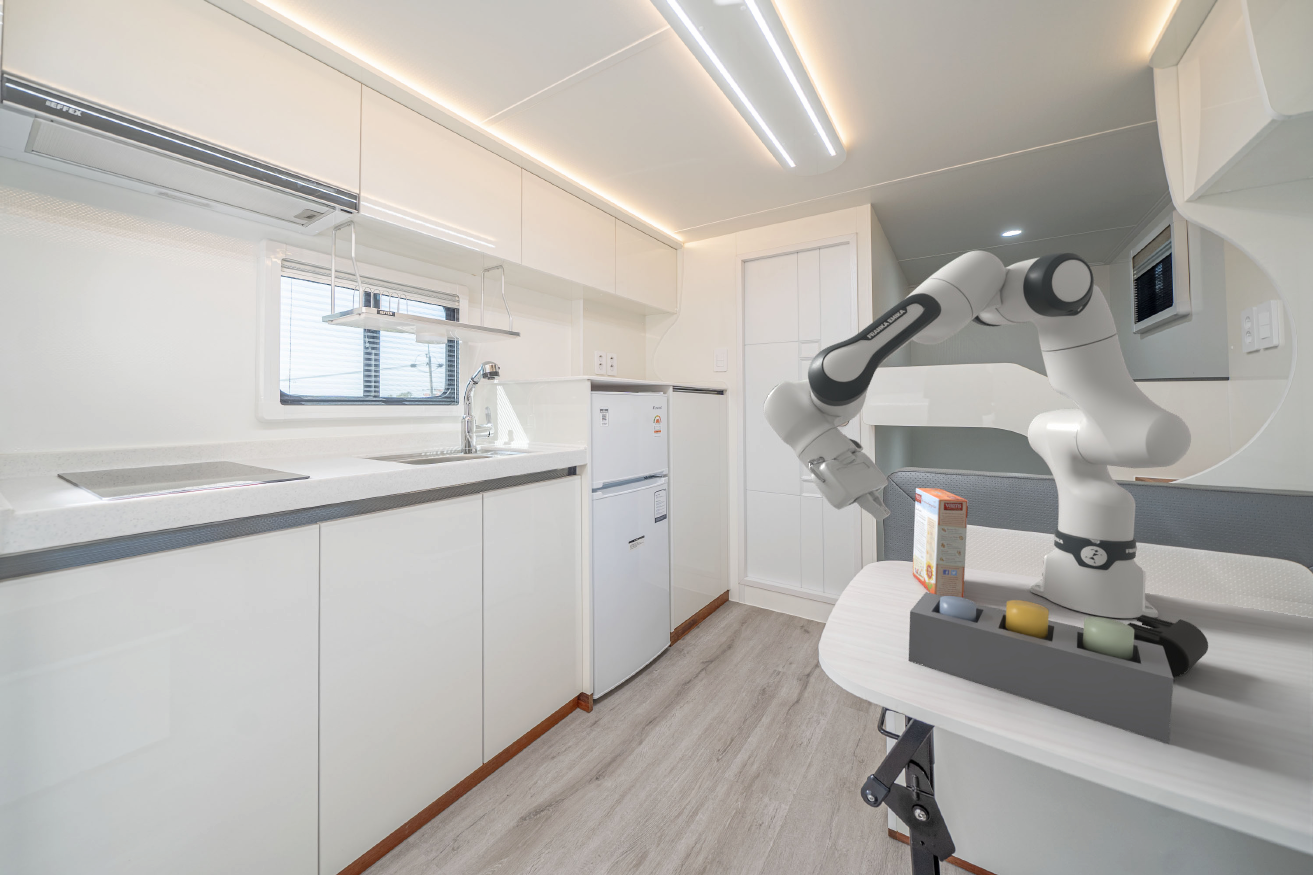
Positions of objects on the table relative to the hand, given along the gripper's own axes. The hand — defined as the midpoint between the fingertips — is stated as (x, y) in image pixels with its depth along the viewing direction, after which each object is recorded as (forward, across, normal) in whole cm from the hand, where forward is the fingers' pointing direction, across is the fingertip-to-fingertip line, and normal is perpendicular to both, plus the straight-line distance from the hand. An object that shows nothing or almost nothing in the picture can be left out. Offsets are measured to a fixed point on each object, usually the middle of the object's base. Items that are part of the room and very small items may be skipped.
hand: (885, 517), depth 81 cm
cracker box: (+16, +32, +14) cm, 39 cm away
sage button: (+29, 0, -10) cm, 31 cm away
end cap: (+40, +18, -10) cm, 45 cm away
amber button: (+23, 0, -4) cm, 24 cm away
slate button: (+18, 0, +3) cm, 19 cm away
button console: (+29, 0, +1) cm, 29 cm away
